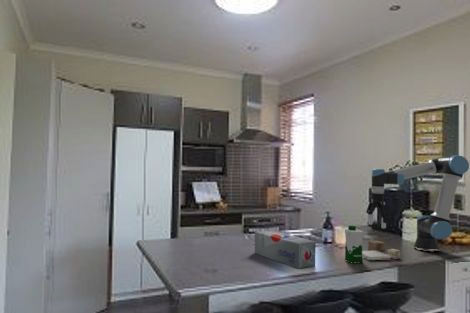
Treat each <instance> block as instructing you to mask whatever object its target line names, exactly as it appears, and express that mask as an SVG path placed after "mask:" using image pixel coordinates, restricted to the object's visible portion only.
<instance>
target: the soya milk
mask: <svg viewBox="0 0 470 313" xmlns="http://www.w3.org/2000/svg"><path fill="white" fill-rule="evenodd" d="M364 232H365V231H364V230H361V229H357V227H356V225H348V228H347V229H346V228H345V229H344V235H345V249H344V250H345V253H344V261H345V260H347V261H346V262H348V261H349V262H348V263H350V262H352V263H354V262H363V258H362V251H363V237H364ZM352 263H351V264H352ZM363 263H364V262H363ZM354 264H355V263H354Z"/></svg>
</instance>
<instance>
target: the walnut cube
mask: <svg viewBox="0 0 470 313" xmlns="http://www.w3.org/2000/svg"><path fill="white" fill-rule="evenodd" d="M367 247H368V249H367V251H368V250H370V251H375V250H376V251H379V252H385V251H386V248H385V247H386V243H385V242H383V241H380V240H368V246H367Z"/></svg>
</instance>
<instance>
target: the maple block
mask: <svg viewBox="0 0 470 313" xmlns="http://www.w3.org/2000/svg"><path fill="white" fill-rule="evenodd" d="M386 251H387V252H386V254H387V255H389V256H391V257H399V256H400V255H401V251H400V250H399V249H395V248H389V249H387V250H386ZM400 257H401V256H400Z"/></svg>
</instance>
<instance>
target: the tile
mask: <svg viewBox="0 0 470 313" xmlns="http://www.w3.org/2000/svg"><path fill="white" fill-rule="evenodd" d="M362 257H365V258H368V259H381V258H391V256H389V255H387V253H385V254H384V253H381V252H379V251H376V250H375V251H368V250H362Z"/></svg>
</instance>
